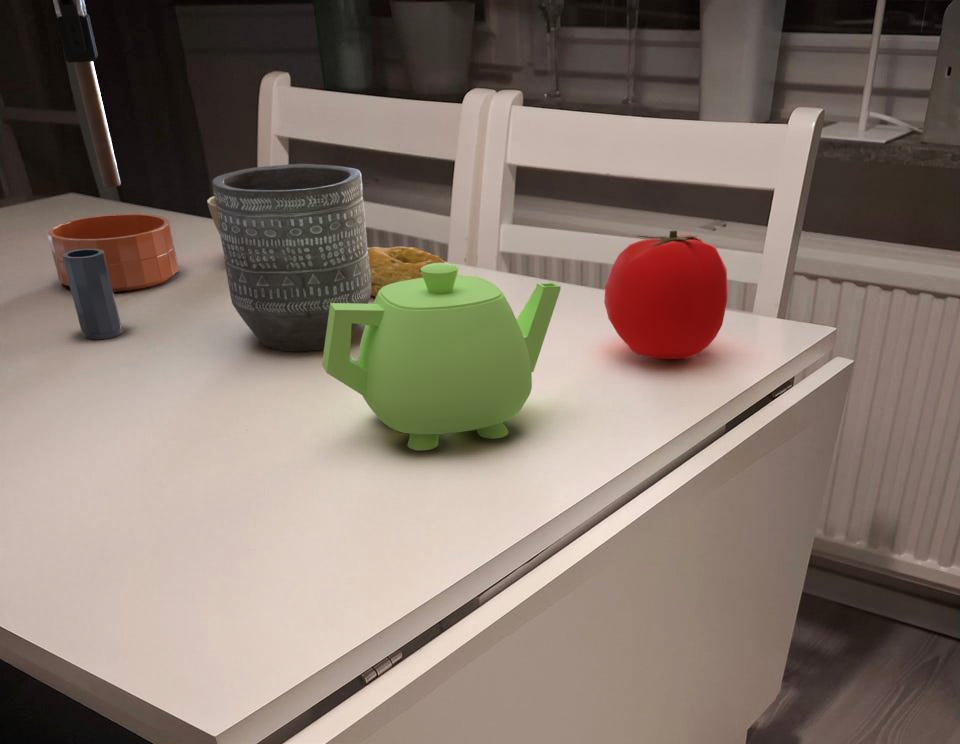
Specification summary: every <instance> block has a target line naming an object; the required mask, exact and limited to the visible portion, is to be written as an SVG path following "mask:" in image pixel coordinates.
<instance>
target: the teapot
mask: <svg viewBox="0 0 960 744" xmlns="http://www.w3.org/2000/svg"><path fill="white" fill-rule="evenodd" d="M458 271H459V267H458V266H457V265H455V264H453V263H450V262H448V263H447V262H445V263H433V264H428V265H426V266H424V267H422V268H421V273H422V276H423V278H417V279H411V280H405V281H400V282H396V283H392V284H389V285H386V286H384V287H382V288H381V289H380V290H379V292H378V294H377V296H376V297H375V299H374V301H373V303H368V304H356V303H330V309H329V316H328V324H327V331H326V339H325V346H324V349H323V355H322V361H321V366H322V368H323V370H324V371H325V373H326V374H328V375H329V376H330V377H332V378H334V379H336V380H337V381H338V382H340V383H342V384H344V385H345V386H347V387H349V388H350V389H351V390H352V391H355V392H356V393H358V394H359V395H361V396H362V398H363V400H364V401H365V403H366V404H367V405H368V407H369V408H370V410H371V411H372V413H374V414H375V416H376V417H377V418H378V419H379V420H380V421H381V422H382V424H384V425H386V426H387V427H388V428H390V429H392V430H393V431H396V432H400V433H404V434H405V433H406V434H409V438H408V441H407V444H406V445H407V447H408V448H409V449H411V450H413V451H429V450H434V449H435V448H437V447H438V446H439V435H440V434H441V435H442V434H453V433H455V434H456V433H463V432H469V431H474V430H476V431H477V435H478V436H479V437H482V438H484V439H491V440H492V439H495V440H496V439H501V438H504V437H506V436H508V435H509V430H508V429H507V427H506V425H505V424H504V422H506V421H508V420H511V419H513V418H514V417H516V416H517V415H518V414H519V412H520V411H521V409H522V408H523V407H524V405H525V404H526V402H527V400H528V399H529V397H530V394H531V392H532V387H533V378H532V377H533V375H532V373H534V372H535V368H536V365H537V362H538V359H539V357H540V354H541V350H542V347H543V343H544V341H545V338H546V335H547V332H548V329H549V326H550V324H551V323H550V322H551V319H552V317H553V313H554V311H555V309H556V305H557V302H558V299H559V295H560V292H561V289H562V288H561V287H562V286H561V285H559V284H558V283H555V282H540V283H539V282H537V283H536V287H535V289H534V290H533V291H532V293H531V295H530V296H529V298H528V300H527V301H526V302H525V305H524V306H523V308H522V309H521V311H520V313H519V315H518V316H517V318H516V316H515V313H514V311H513V309H512V307H511V305H510V303H509V301H508V299H507V298H506V296H505V294H504V292H503V291H502V290H501V289H500V287H498V286H497V285H496V284H494V283H493V282H491V281H489V280H488V279H485V278H482V277H479V276H475V275H474V276H473V275H462V274H461V275H458V273H459V272H458ZM352 323H354V324H359V325H363V326H364V328H363V333H362V335H361V340H360V345H359V349H358V350H359V351H358V357H357V358H358V359H357V360H356V359H354V358H353V357H351V344H352V338H351V325H352Z"/></svg>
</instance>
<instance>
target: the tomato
mask: <svg viewBox="0 0 960 744" xmlns="http://www.w3.org/2000/svg"><path fill="white" fill-rule="evenodd" d="M637 237H639V238H645V239H642V240H638V241H635V242H632V243H629V244H628V245H627V246H626V247H625V248H624V249H623V250H622V251H621V252H620V253H619V254H618V255H617V257H616V259H615V260H614V262H613V264H612V267H611V269H610V272H609V275H608V278H607V281H606V284H605V287H604V299H603V300H604V301H603V302H604V308H605V311H606V314H607V318H608V320H609V321H610V323H611V326H612V327H613V329H614V330H615V332H616V334H617V335H618V336H619V338H620V339H621V340H622V341H623V342H624V343H625V344H626V345H627V347H629V348H630V350H631V351H632V352H633V353H635V354H637V355H639V356H643V357H648V358H652V359H655V360H681V359H682V360H684V359H688V358H691V357H693V356H695V355H697V354H699V353H701V352H702V351H703V350H705V349H706V348H708V347H709V345H710V344H711V343H712V342H713V341H714V340H715V339H716V338H717V335H718V334H719V332H720V330H721V328H722V326H723V324H724V318H725V314H726V308H727V303H728V297H729V289H728V269H727V266H726V265H725V262H724V261H723V259H722V257H721V255H720V253H719V250H718V249H717V247H716V246H715V245H712V244H709V243H706V242H704V241H703V240H702V239H701V238H699V237H698V236H696V235H692V234H680V235H678V230H669V235H667V236H665V235H663V236H647V235H645V236H644V235H637Z"/></svg>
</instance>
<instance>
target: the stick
mask: <svg viewBox="0 0 960 744" xmlns="http://www.w3.org/2000/svg"><path fill="white" fill-rule="evenodd" d="M73 63H74V64H73V65H74V68H75V72H76V77H77V81H78V85H79V90H80V93H81V97H82V102H83V105H84V110H85V113H86V118H87V123H88V125H89V126H88V127H89V130H90V135H91V139H92V143H93V147H94V151H95V156H96V160H97V164H98V168H99V172H100V177H101V180H102V185H103V187H105V188H115V187H119V186H121V185H122V182H121V177H120V174H119V169H118V164H117V160H116V156H115V153H114V148H113V143H112V137H111V134H110V131H109V125H108V122H107V117H106V112H105V108H104V104H103V100H102V96H101V91H100V86H99V82H98V78H97V73H96V69H95V64H94V61H91V62H73Z"/></svg>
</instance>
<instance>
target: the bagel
mask: <svg viewBox="0 0 960 744" xmlns="http://www.w3.org/2000/svg"><path fill="white" fill-rule="evenodd" d="M367 251H368V257H369V265H370V276H371V297H375V298H376V296H377V294H378V292H379V290H380V289H381V288H382V287H384V286H386V285H389V284H392V283H396V282H400V281H405V280H411V279H417V278H423V276H422V273H421V268H422V267H424V266H426V265H428V264H433V263H446V262H445V260H443V258H441V257H439V255H436V254H435V255H434V254H431V252H427V251H423V250H421V248H419V247H413V246H409V247H406V246H403V245H402V246H398V245H397V246H393V247H379V246H371V247H369V248H368V249H367Z"/></svg>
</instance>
